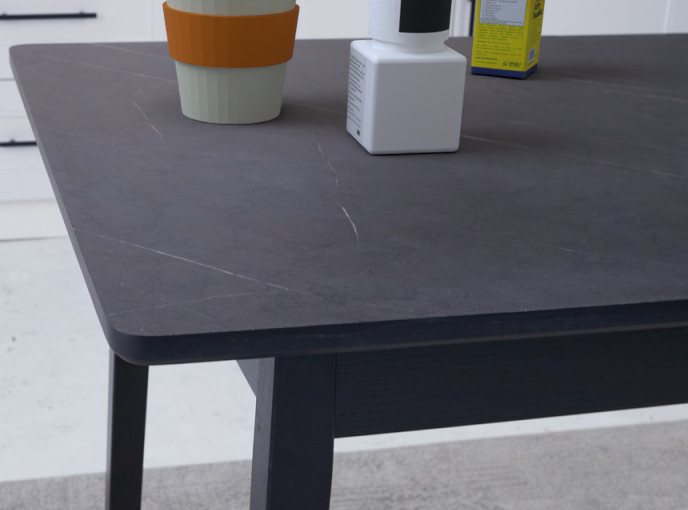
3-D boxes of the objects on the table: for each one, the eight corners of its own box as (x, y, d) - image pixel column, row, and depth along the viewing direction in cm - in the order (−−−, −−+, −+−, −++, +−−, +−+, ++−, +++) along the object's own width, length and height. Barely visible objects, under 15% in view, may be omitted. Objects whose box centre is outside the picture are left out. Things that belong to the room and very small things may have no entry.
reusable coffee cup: (235, 89, 113) (236, -75, 106) (328, 114, 105) (335, -62, 98) (133, 109, 105) (127, -68, 98) (225, 137, 97) (225, -52, 90)
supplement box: (537, 69, 125) (550, -38, 120) (524, 80, 120) (537, -31, 115) (484, 64, 127) (494, -42, 122) (469, 74, 122) (479, -36, 117)
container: (429, 128, 102) (442, -28, 96) (459, 152, 95) (475, -14, 89) (345, 131, 100) (352, -27, 94) (369, 155, 93) (379, -13, 87)
